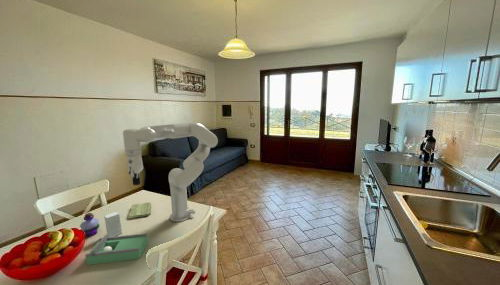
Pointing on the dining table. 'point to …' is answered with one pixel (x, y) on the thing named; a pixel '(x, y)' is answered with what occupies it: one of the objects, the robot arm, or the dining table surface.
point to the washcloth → (140, 210)
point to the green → (117, 249)
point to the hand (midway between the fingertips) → (136, 184)
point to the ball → (107, 248)
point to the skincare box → (113, 224)
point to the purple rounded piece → (90, 225)
